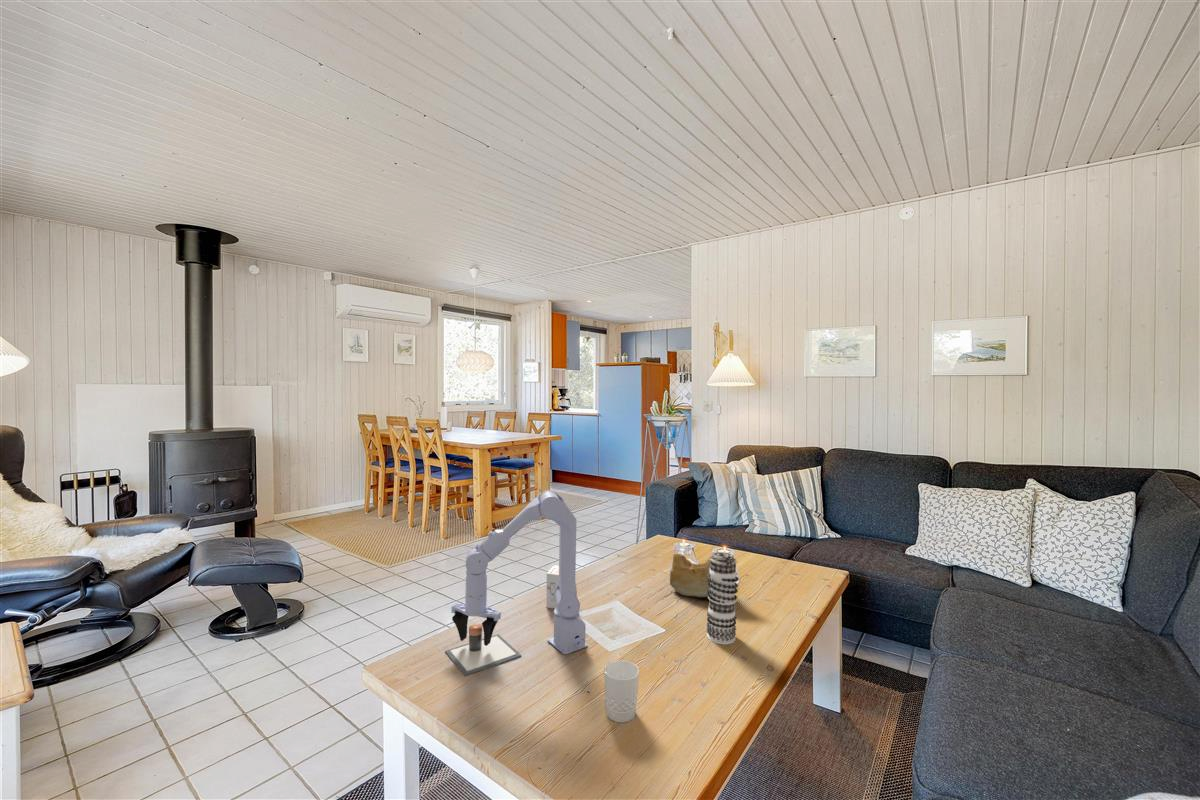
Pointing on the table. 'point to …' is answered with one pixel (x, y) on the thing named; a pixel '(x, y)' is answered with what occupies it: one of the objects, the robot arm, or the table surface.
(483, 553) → the robot arm
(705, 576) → the rough brown rock
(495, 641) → the writing pad
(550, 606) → the ink cartridge box
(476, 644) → the orange-topped grey cylinder
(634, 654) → the table surface
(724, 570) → the decorative candle
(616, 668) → the white cup
